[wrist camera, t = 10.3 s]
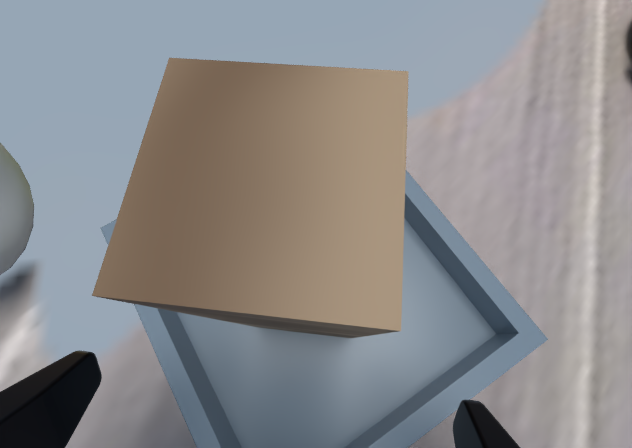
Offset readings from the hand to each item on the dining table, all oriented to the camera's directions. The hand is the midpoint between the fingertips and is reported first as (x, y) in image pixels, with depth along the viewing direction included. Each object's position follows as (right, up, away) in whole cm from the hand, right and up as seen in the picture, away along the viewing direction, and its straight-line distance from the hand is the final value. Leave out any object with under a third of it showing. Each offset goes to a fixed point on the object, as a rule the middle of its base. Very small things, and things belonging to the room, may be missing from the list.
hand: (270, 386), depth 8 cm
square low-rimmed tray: (+1, 0, +12) cm, 12 cm away
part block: (+1, +1, +9) cm, 9 cm away
